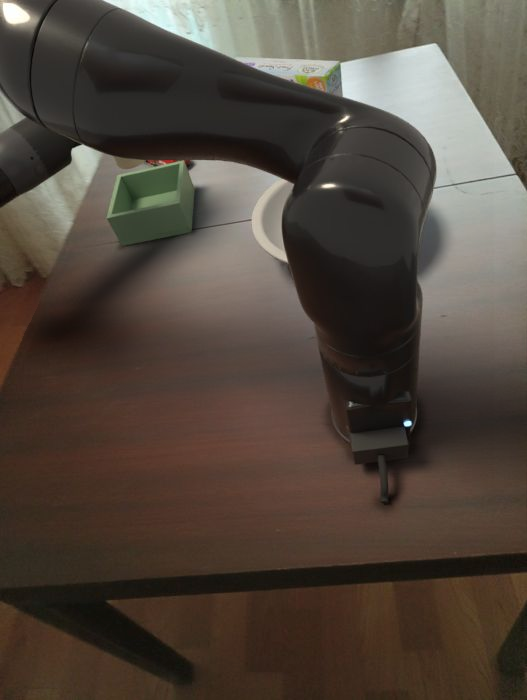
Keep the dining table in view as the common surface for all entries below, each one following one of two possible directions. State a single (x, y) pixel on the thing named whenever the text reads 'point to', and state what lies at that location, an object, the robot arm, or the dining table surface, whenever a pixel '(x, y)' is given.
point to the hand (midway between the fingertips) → (121, 95)
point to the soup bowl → (271, 219)
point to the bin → (152, 203)
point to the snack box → (302, 71)
